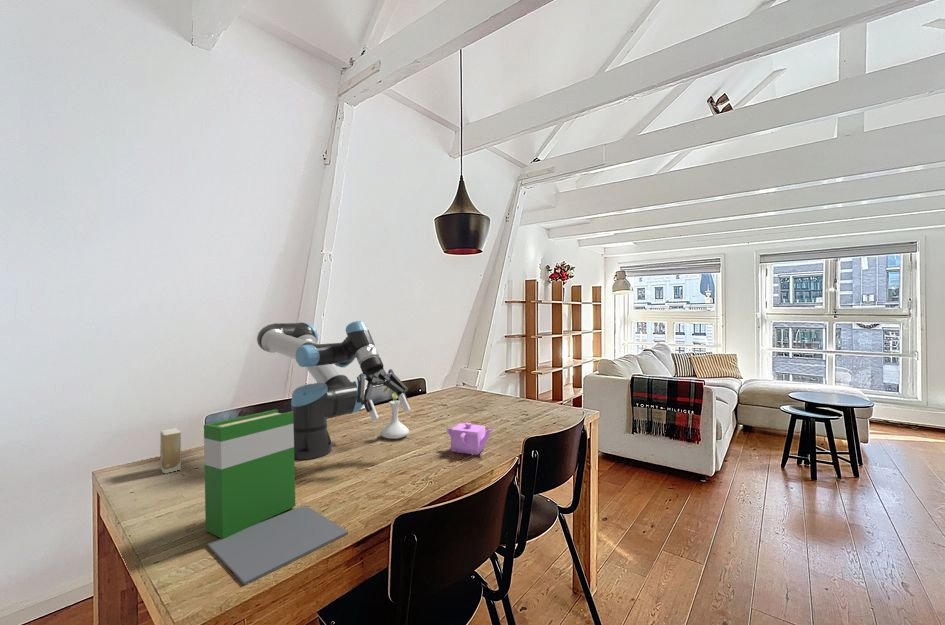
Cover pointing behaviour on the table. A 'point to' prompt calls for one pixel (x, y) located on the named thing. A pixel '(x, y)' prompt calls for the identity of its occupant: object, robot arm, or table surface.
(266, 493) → the hardback book
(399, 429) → the flower in vase
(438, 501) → the table surface
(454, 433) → the teapot
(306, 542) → the felt mat
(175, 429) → the skincare box
